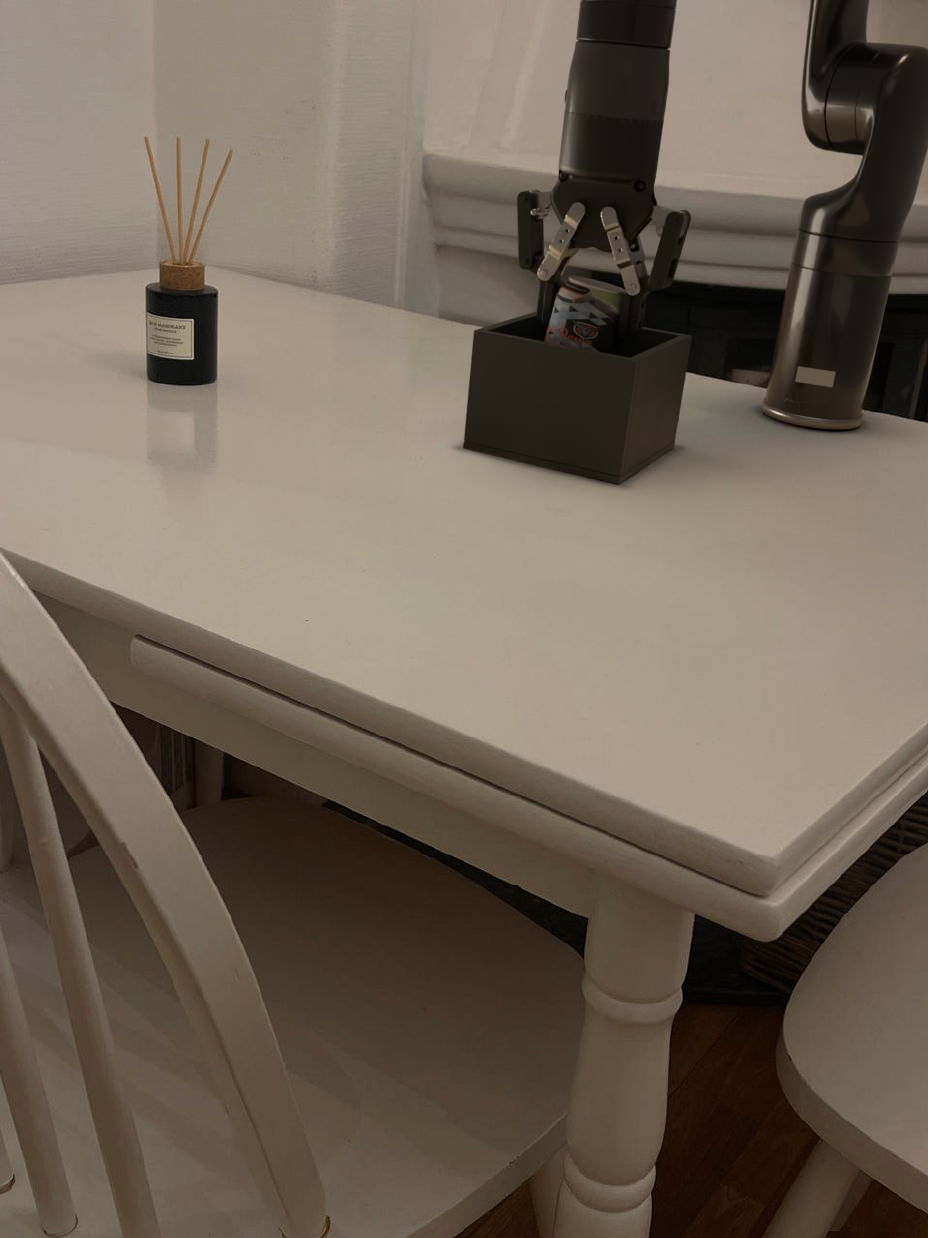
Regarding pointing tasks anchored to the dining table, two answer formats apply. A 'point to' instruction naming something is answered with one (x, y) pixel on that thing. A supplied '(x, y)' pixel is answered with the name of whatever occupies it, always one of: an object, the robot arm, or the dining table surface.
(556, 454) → the waste bin
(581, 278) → the beverage can
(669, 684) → the dining table surface
